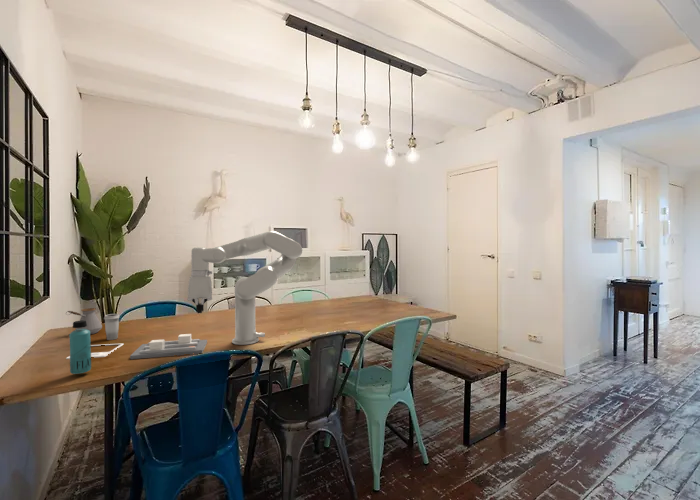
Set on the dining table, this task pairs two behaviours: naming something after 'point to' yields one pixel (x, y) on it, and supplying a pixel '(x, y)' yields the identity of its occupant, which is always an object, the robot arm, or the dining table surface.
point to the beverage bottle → (80, 348)
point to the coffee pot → (89, 320)
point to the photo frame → (102, 354)
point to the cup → (111, 326)
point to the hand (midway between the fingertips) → (199, 312)
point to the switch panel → (170, 349)
